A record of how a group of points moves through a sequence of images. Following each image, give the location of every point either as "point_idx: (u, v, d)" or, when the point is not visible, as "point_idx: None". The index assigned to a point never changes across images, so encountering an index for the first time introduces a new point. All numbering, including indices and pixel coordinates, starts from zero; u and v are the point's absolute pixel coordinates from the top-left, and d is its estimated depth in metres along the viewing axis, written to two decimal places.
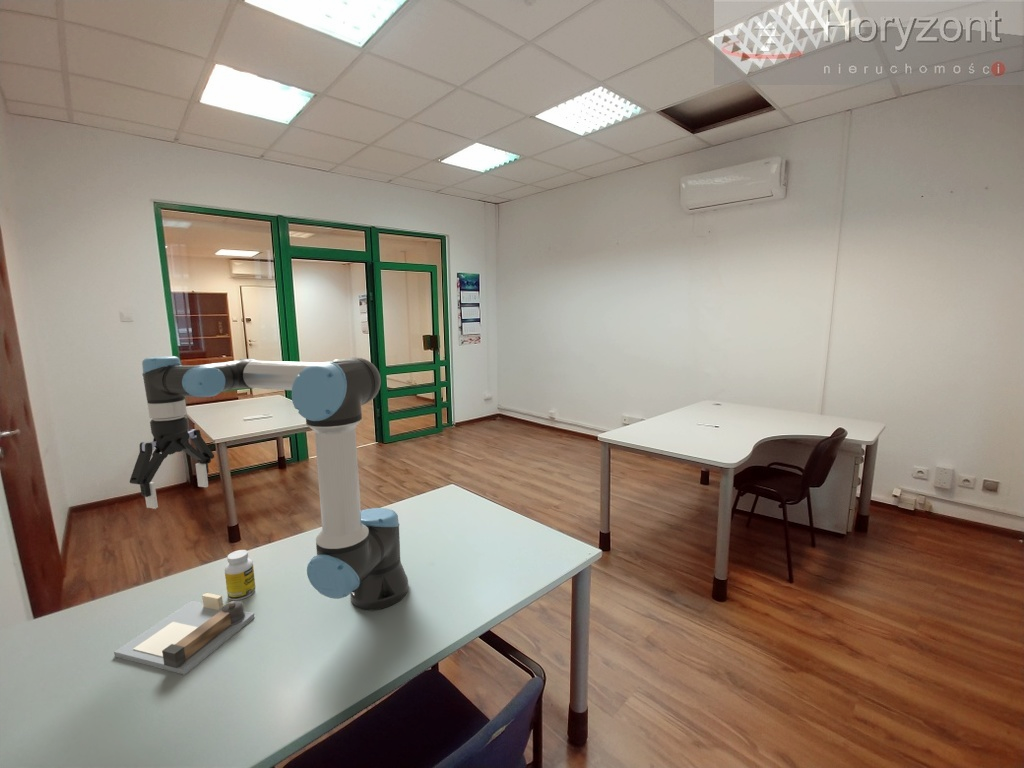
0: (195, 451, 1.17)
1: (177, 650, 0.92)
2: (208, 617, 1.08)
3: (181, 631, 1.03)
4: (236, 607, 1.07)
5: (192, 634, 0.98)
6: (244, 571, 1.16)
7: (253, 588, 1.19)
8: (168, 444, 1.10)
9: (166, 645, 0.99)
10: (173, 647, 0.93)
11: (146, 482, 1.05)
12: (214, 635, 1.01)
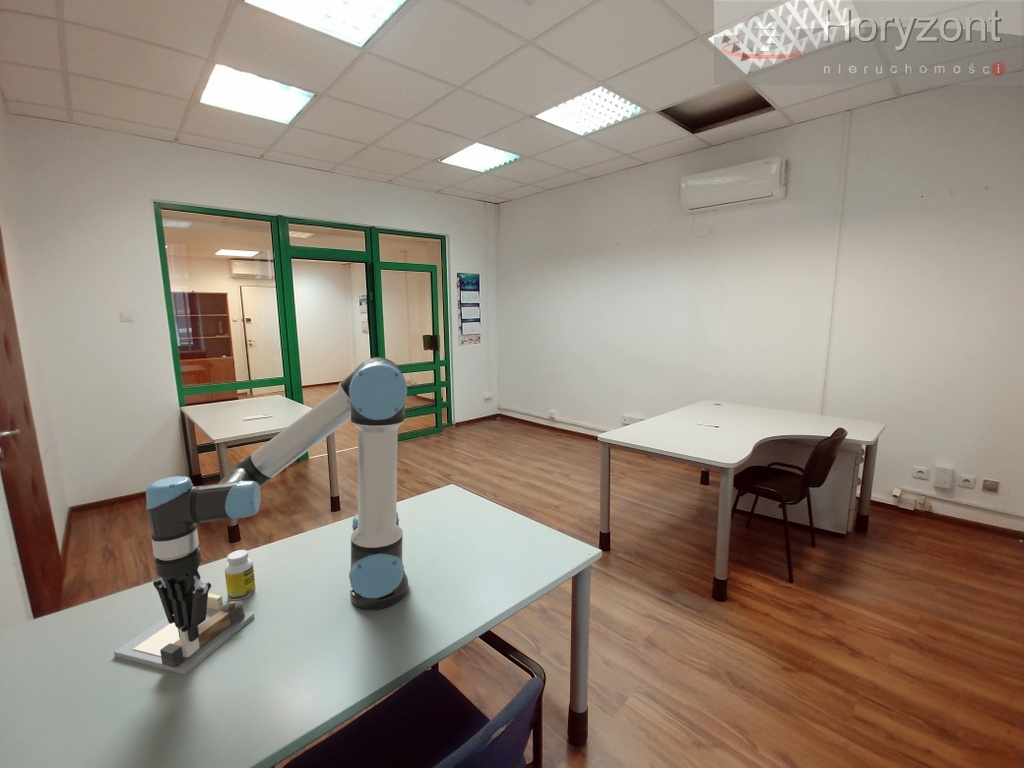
0: (184, 607, 0.92)
1: (175, 649, 0.93)
2: (208, 617, 1.08)
3: None
4: (235, 607, 1.06)
5: None
6: (244, 571, 1.16)
7: (253, 588, 1.19)
8: None
9: (166, 645, 0.99)
10: (171, 646, 0.93)
11: (176, 626, 0.93)
12: (213, 635, 1.01)
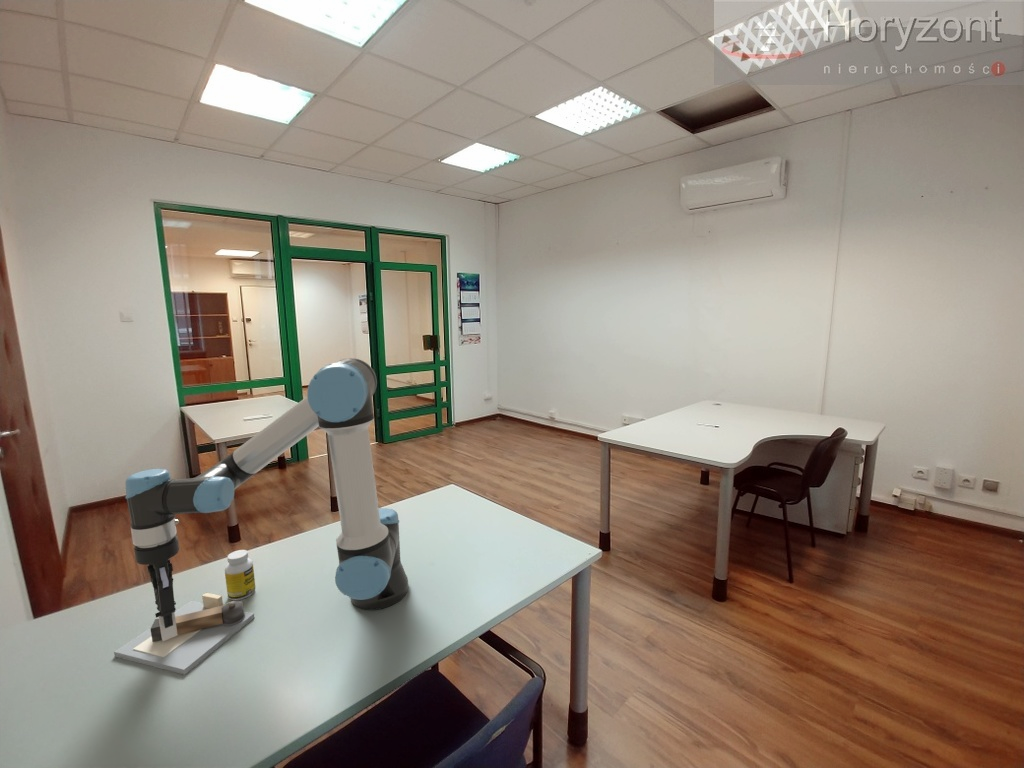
0: (157, 594, 0.96)
1: (156, 626, 0.99)
2: None
3: None
4: (232, 609, 1.06)
5: (184, 616, 1.03)
6: (244, 571, 1.16)
7: (253, 588, 1.19)
8: None
9: (166, 645, 0.99)
10: None
11: None
12: (200, 627, 1.03)
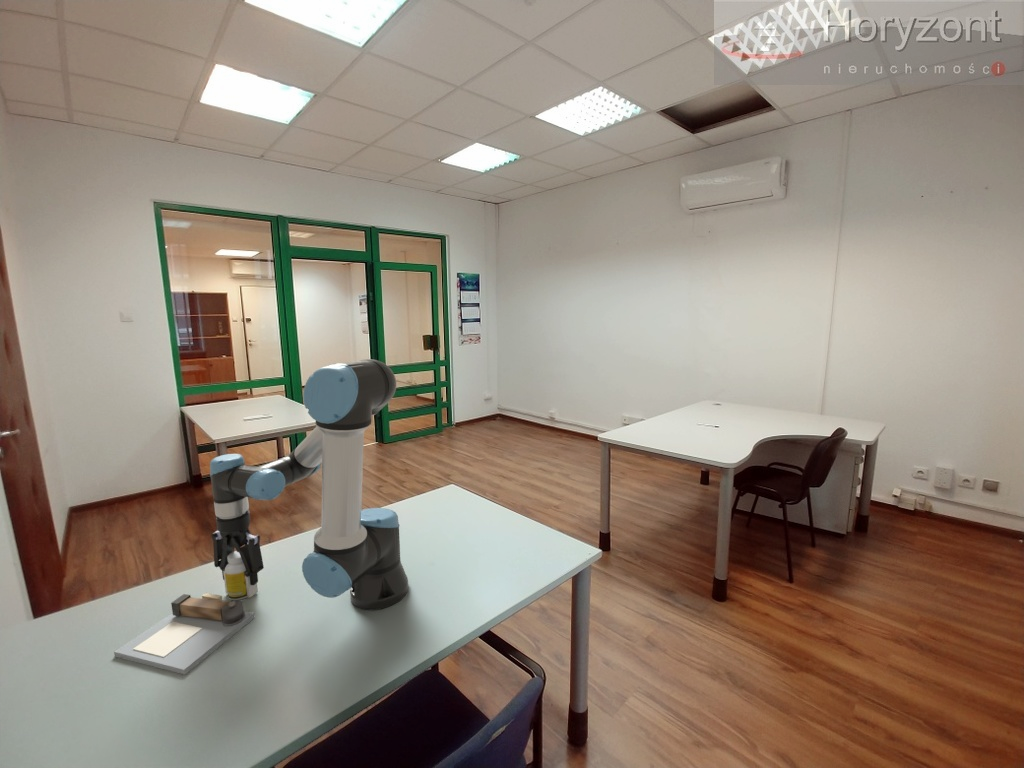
0: (243, 557, 1.15)
1: (175, 602, 1.08)
2: None
3: (181, 631, 1.03)
4: (229, 609, 1.06)
5: (200, 600, 1.09)
6: (244, 571, 1.16)
7: None
8: None
9: (166, 645, 0.99)
10: (183, 598, 1.09)
11: (220, 568, 1.18)
12: (205, 617, 1.07)
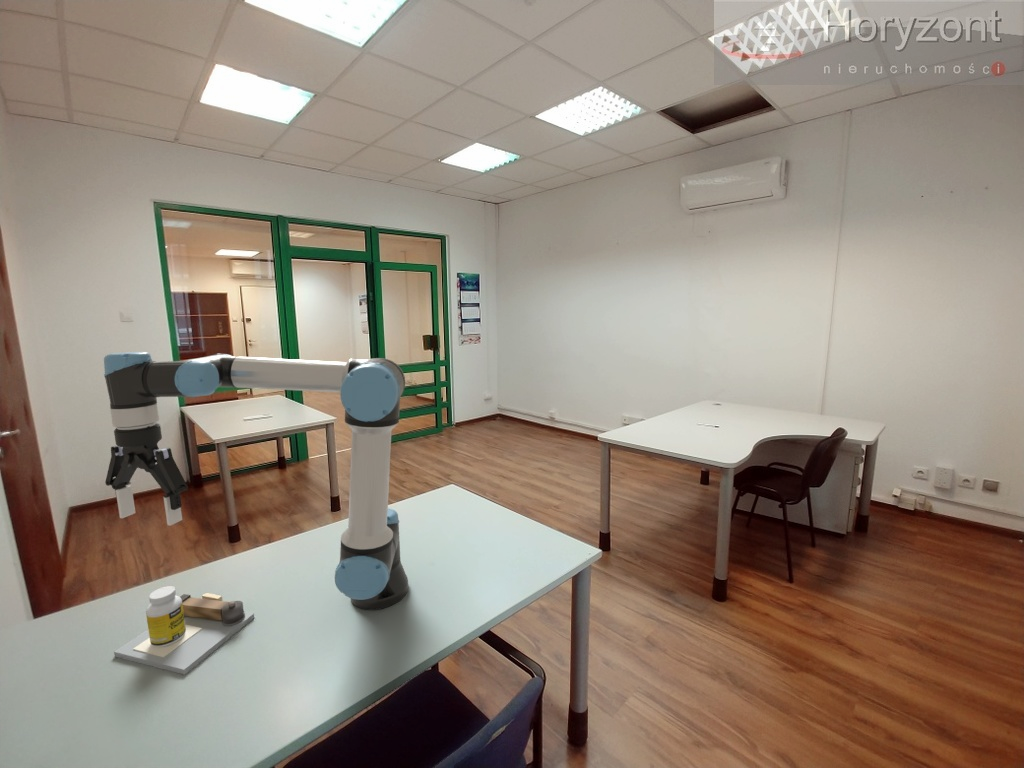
0: (155, 476, 0.92)
1: None
2: None
3: None
4: (229, 609, 1.06)
5: (200, 600, 1.09)
6: (168, 612, 0.98)
7: (182, 631, 1.01)
8: None
9: None
10: (183, 598, 1.09)
11: (112, 486, 0.96)
12: (205, 617, 1.07)
